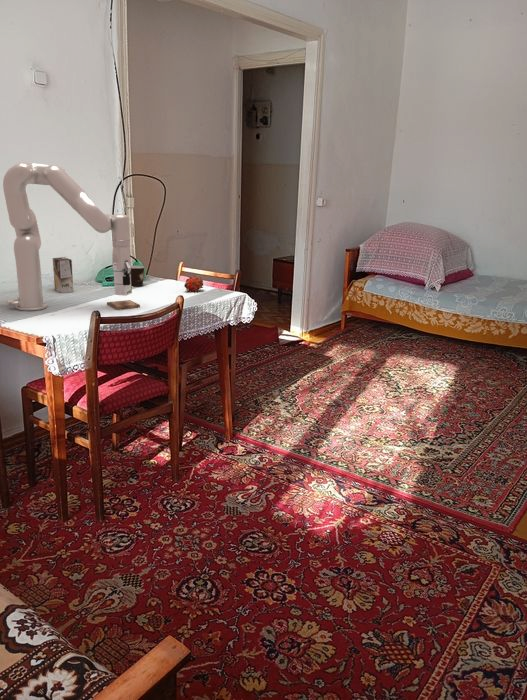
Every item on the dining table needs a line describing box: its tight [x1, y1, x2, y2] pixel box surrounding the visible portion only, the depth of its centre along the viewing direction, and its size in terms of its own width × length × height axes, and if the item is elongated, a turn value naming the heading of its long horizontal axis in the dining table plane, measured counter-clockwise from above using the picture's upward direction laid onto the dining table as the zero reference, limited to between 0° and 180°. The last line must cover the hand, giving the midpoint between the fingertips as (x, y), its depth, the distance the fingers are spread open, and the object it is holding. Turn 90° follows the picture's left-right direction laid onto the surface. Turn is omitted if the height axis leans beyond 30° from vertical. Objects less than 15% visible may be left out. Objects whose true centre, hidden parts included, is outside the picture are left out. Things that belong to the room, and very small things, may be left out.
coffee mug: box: [131, 265, 145, 288], centre depth 300 cm, size 12×9×10 cm
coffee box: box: [52, 256, 74, 294], centre depth 281 cm, size 9×6×16 cm
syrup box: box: [112, 262, 133, 297], centre depth 254 cm, size 6×6×14 cm
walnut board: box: [106, 299, 141, 311], centre depth 257 cm, size 11×11×1 cm
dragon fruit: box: [183, 275, 204, 292], centre depth 295 cm, size 8×8×12 cm
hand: (122, 283), depth 254 cm, fingers closed on syrup box, 7 cm apart
